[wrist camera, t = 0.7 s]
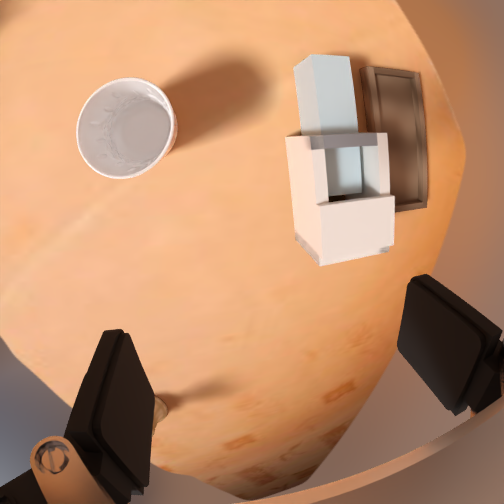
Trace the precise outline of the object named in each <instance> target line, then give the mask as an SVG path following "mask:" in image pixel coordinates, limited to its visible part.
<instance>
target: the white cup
mask: <svg viewBox="0 0 504 504" xmlns="http://www.w3.org/2000/svg"><path fill="white" fill-rule="evenodd" d="M177 132H178V125H177V119H176V115H175V112H174V110H173V108H172V105H171V103H170V101H169V99H168V97H167V96H166V95H165V93H164V92H163V91H162V90H161V89H160V88H159V87H158V86H156V85H155V84H153V83H152V82H150V81H147V80H144V79H141V78H135V77H127V78H120V79H116V80H113V81H111V82H108V83H107V84H105V85H103V86H102V87H100V88H99V89H98V90H96V91H95V92H94V93H93V94H92V95H91V96H90V97H89V99H88V100H87V101H86V103H85V105H84V106H83V108H82V110H81V113H80V115H79V118H78V122H77V130H76V137H77V144H78V148H79V151H80V153H81V155H82V157H83V159H84V160H85V162H86V163H87V164H88V165H89V166H90V167H91V168H92V169H93V170H95V171H96V172H98V173H99V174H101V175H103V176H106V177H110V178H115V179H126V178H131V177H135V176H138V175H140V174H143V173H144V172H146V171H148V170H149V169H151V168H152V167H153V166H155V165H156V164H157V163H158V162H159V161H161V160H162V159H163V158H164V157H165V156H166V155H167V154H168V152H169V151H170V150H171V148H172V147H173V145H174V144H175V140H176V137H177Z"/></svg>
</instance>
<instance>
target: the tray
mask: <svg viewBox="0 0 504 504" xmlns="http://www.w3.org/2000/svg"><path fill="white" fill-rule="evenodd" d="M360 74H361V81H362V88H363V95H364V103H365V111H366V120H367V130H368V133H387V138H388V153H389V173H390V195H393V196H395V212H401V211H408V210H414V209H421V208H427V148H426V131H425V119H424V109H423V100H422V92H421V85H420V78H419V73H416V72H410V71H403V70H396V69H388V68H379V67H369V66H367V67H364V68H361V69H360Z"/></svg>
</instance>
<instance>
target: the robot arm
mask: <svg viewBox="0 0 504 504" xmlns="http://www.w3.org/2000/svg"><path fill="white" fill-rule="evenodd" d="M501 333H502V330H501V329H500V328H499V327H498V326H496V325H495V324H494V323H492V322H491V321H490V320H489V319H487V318H486V317H485V316H484V315H482V314H481V313H480V312H478V311H477V310H476V309H475V308H473V307H472V306H471V305H469V304H468V303H467V302H465V301H464V300H463V299H461V298H460V297H459V296H457V295H456V294H454V293H453V292H452V291H450V290H449V289H447V288H446V287H445V286H443V285H442V284H441V283H439V282H438V281H436V280H435V279H434V278H432V277H431V276H429V275H428V274H423V275H419V276H415V277H413V278H412V279H411V280H410V282H409V283H408V285H407V291H406V297H405V304H404V309H403V315H402V321H401V326H400V331H399V336H398V341H397V347H398V350H399V352H400V353H401V354H402V355H403V357H404V358H405V359H406V360H407V361H408V363H409V364H410V365H411V366H412V367H413V369H414V370H415V371H416V372H417V373H418V375H419V376H420V377H421V378H422V379H423V381H424V382H425V383H426V384H427V385H428V387H429V388H430V389H431V390H432V392H433V393H434V394H435V395H436V397H437V398H438V399H439V400H440V402H441V403H442V404H443V405H444V407H445V408H446V409H447V410H451V411H452V413H453V414H454V415H455V416H456V415H458V414H460V413H461V412H463V411H465V410H466V409H467V406H468V405H469V406H470V408H471V418H470V419H468V420H467V421H466V422H464V423H462V424H460V425H459V426H457V427H456V428H454V429H452V430H451V431H449V432H447V433H445V434H444V435H442V436H440V437H438V438H436V439H435V440H433V441H431V442H429V443H427V444H425V445H423V446H421V447H419V448H417V449H415V450H413V451H411V452H409V453H407V454H405V455H403V456H400V457H398V458H396V459H394V460H392V461H389V462H387V463H384V464H382V465H380V466H377V467H375V468H372V469H370V470H367V471H364V472H362V473H359V474H356V475H353V476H350V477H347V478H345V479H342V480H339V481H335V482H332V483H329V484H326V485H322V486H319V487H315V488H311V489H307V490H304V491H300V492H295V493H291V494H287V495H282V496H277V497H273V498H267V499H262V500H256V501H249V502H242V503H235V504H504V339H503V341H502V342H501V341H500V340H499V338H500V336H501ZM154 408H155V395H154V392H153V390H152V387H151V385H150V383H149V381H148V378H147V376H146V374H145V372H144V369H143V367H142V364H141V362H140V360H139V357H138V355H137V352H136V350H135V347H134V344H133V342H132V339H131V337H130V335H129V333H124V331H123V330H122V329H116V330H106V331H104V332H103V334H102V336H101V339H100V341H99V344H98V346H97V348H96V351H95V353H94V356H93V358H92V361H91V363H90V366H89V368H88V371H87V373H86V375H85V376H84V379H83V381H82V384H81V387H80V389H79V392H78V395H77V398H76V400H75V403H74V406H73V409H72V412H71V415H70V418H69V421H68V424H67V428H66V430H65V434H64V437H58V436H52V437H47V438H45V439H43V440H41V441H40V442H38V443H37V444H36V446H35V447H34V448H33V450H32V453H31V456H30V463H31V469H30V470H28V471H27V472H25V473H23V474H21V475H20V476H18V477H16V478H15V479H13V480H11V481H10V482H8V483H6V484H5V485H3V486H1V487H0V504H130V503H129V502H130V501H131V495H143V494H144V487H147V486H148V485H149V471H150V456H151V442H152V430H153V419H154Z"/></svg>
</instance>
